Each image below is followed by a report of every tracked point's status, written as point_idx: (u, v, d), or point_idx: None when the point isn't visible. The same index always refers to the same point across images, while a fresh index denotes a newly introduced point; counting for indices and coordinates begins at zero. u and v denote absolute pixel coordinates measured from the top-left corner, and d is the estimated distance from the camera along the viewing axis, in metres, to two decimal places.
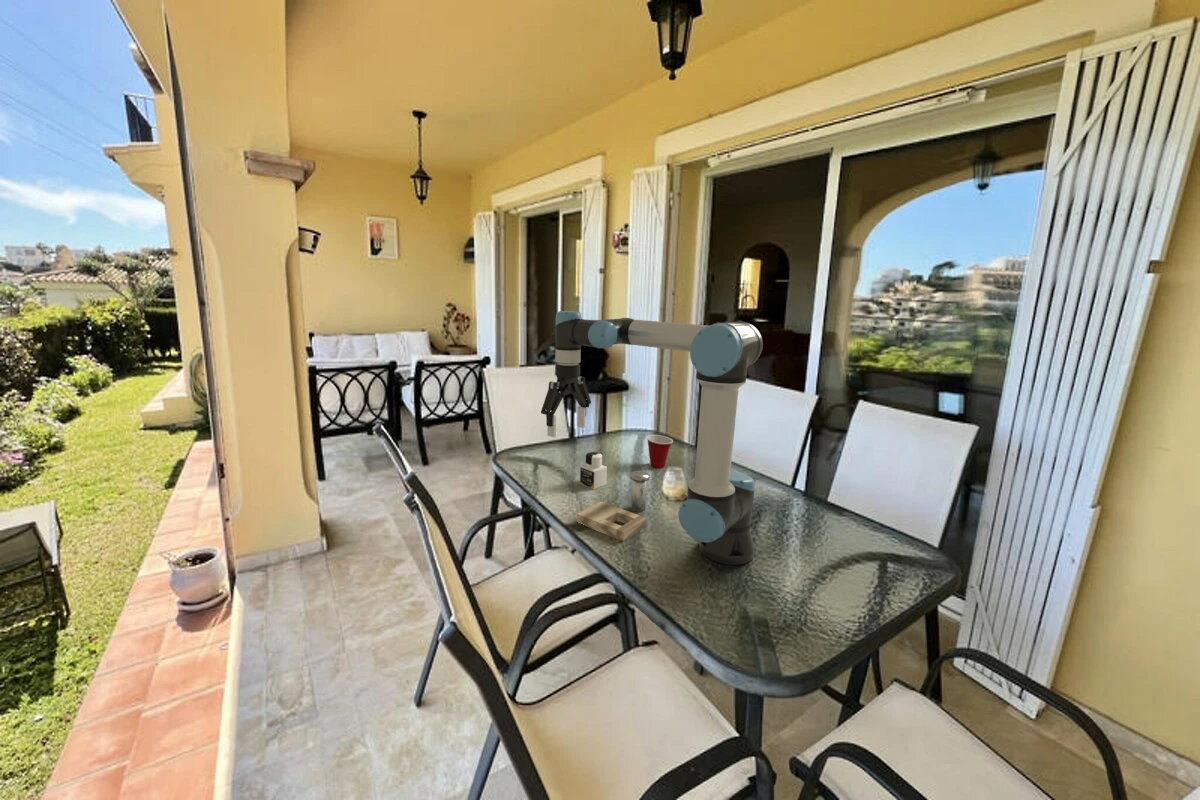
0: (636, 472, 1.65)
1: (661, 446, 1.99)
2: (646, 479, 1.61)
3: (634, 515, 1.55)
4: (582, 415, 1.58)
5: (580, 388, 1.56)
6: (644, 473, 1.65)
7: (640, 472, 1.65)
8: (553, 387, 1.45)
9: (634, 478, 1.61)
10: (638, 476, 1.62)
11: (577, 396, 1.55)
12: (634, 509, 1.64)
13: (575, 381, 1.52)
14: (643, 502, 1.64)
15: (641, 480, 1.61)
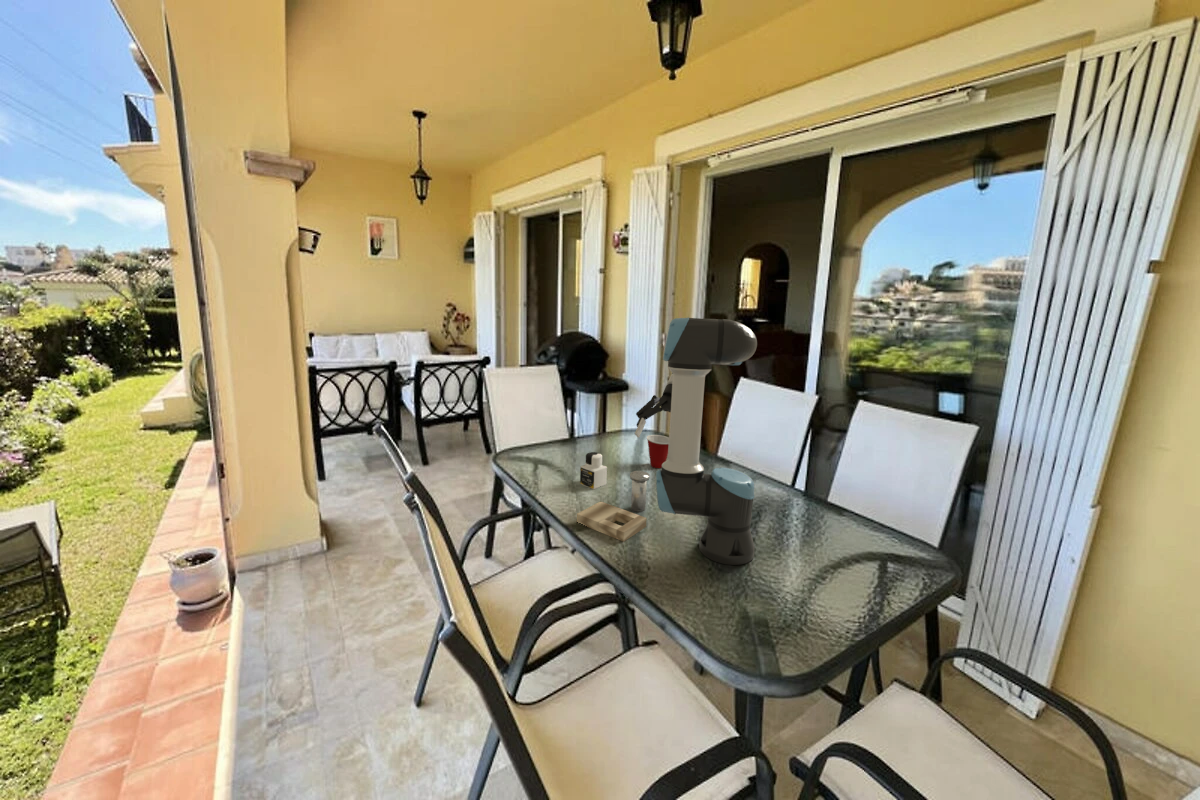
0: (636, 472, 1.65)
1: (661, 446, 1.99)
2: (646, 479, 1.61)
3: (634, 515, 1.55)
4: None
5: None
6: (644, 473, 1.65)
7: (640, 472, 1.65)
8: None
9: (634, 478, 1.61)
10: (638, 476, 1.62)
11: None
12: (634, 509, 1.64)
13: None
14: (643, 502, 1.64)
15: (641, 480, 1.61)
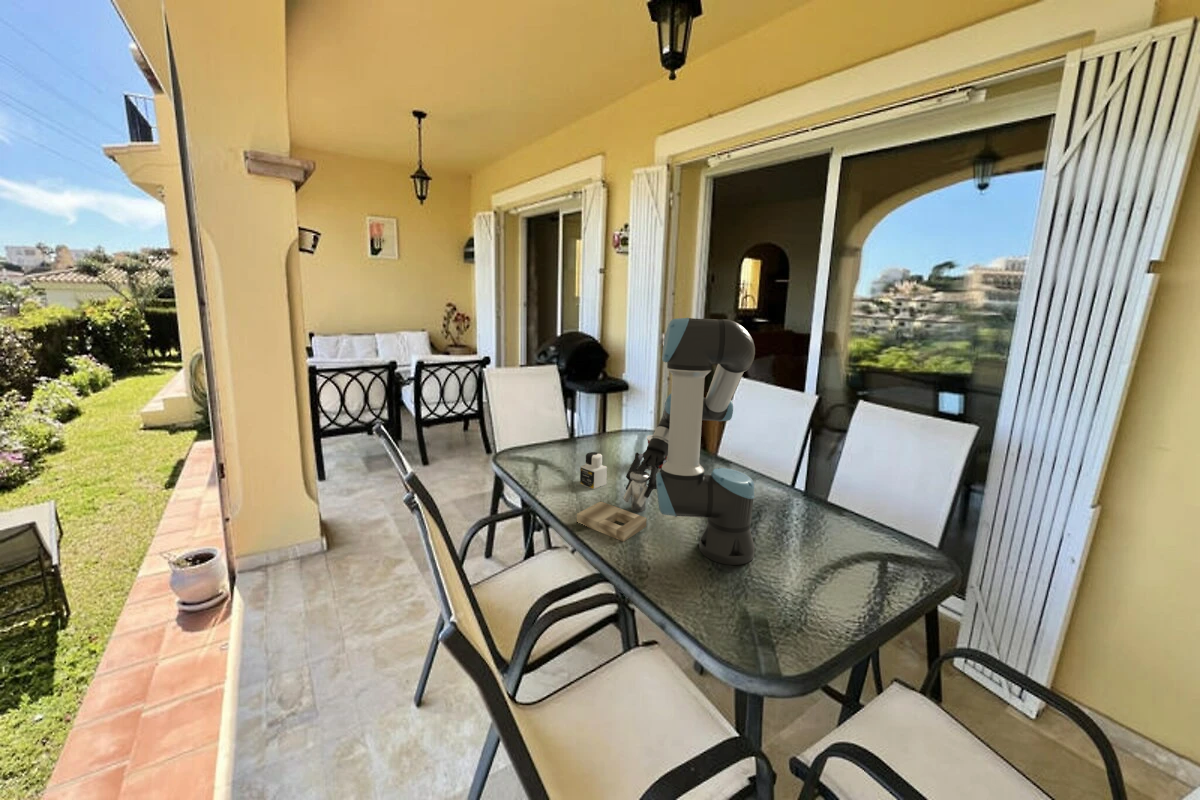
0: (636, 472, 1.65)
1: None
2: (646, 479, 1.61)
3: (634, 515, 1.55)
4: None
5: None
6: (644, 473, 1.65)
7: (640, 472, 1.65)
8: None
9: (634, 478, 1.61)
10: (638, 476, 1.62)
11: None
12: (634, 509, 1.64)
13: (660, 456, 1.67)
14: None
15: (641, 480, 1.61)
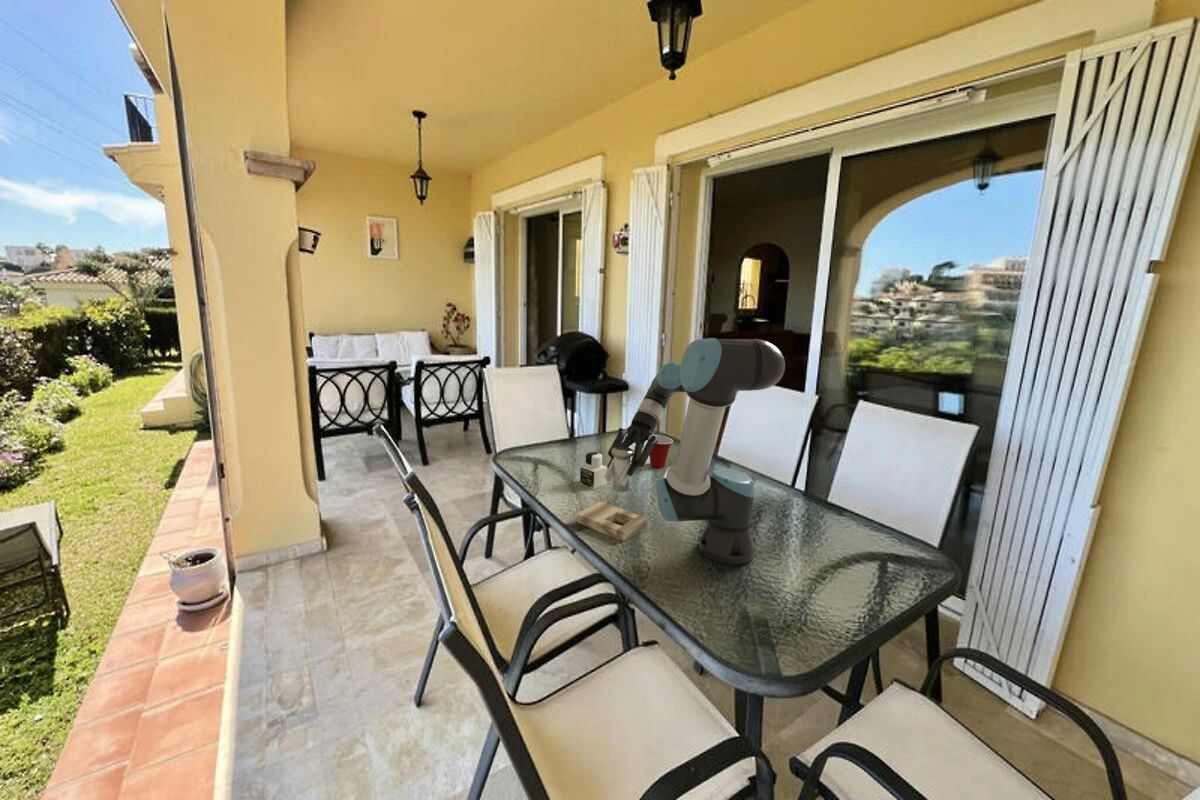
0: (619, 448, 1.49)
1: (661, 446, 1.99)
2: (629, 455, 1.45)
3: (634, 515, 1.55)
4: None
5: None
6: (627, 449, 1.49)
7: (623, 448, 1.49)
8: None
9: (616, 454, 1.45)
10: (620, 452, 1.46)
11: None
12: (616, 489, 1.48)
13: (645, 431, 1.51)
14: None
15: (624, 456, 1.45)
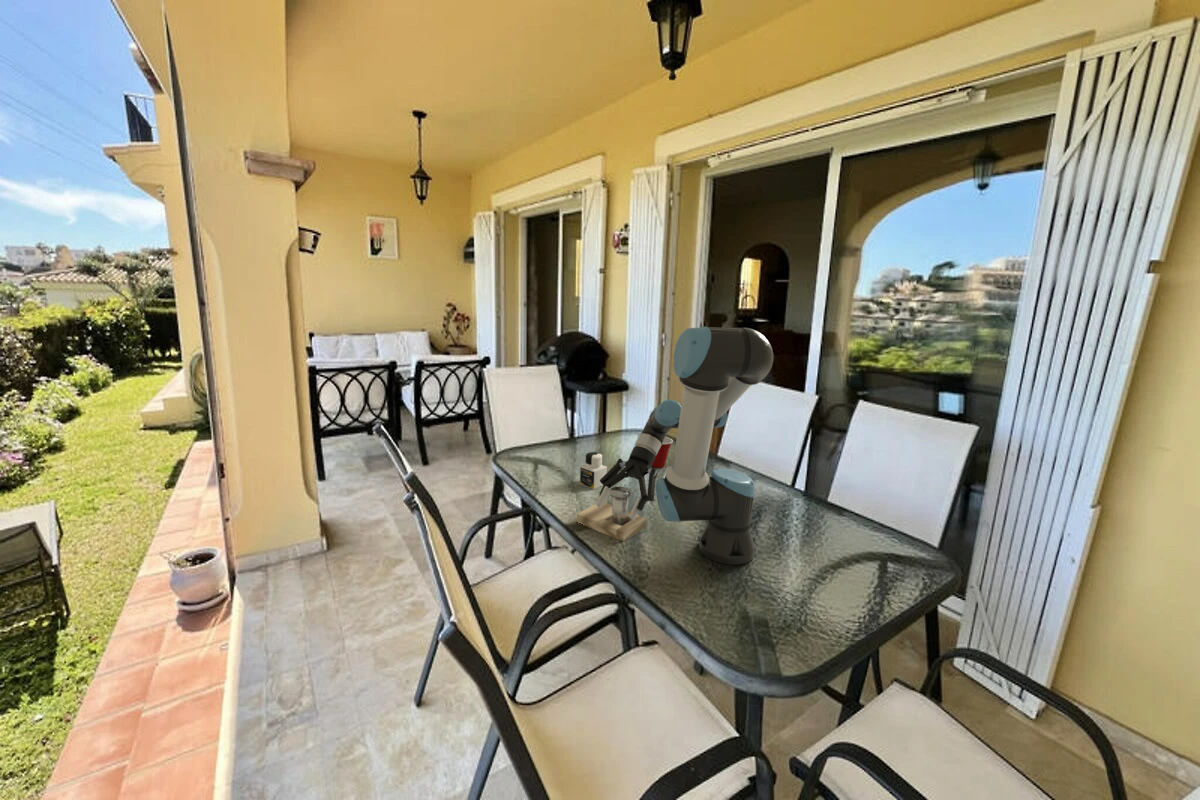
0: (617, 488, 1.52)
1: (661, 446, 1.99)
2: (627, 496, 1.48)
3: None
4: None
5: None
6: (625, 489, 1.51)
7: (621, 488, 1.52)
8: None
9: (614, 495, 1.48)
10: (618, 493, 1.48)
11: None
12: None
13: (642, 466, 1.54)
14: (624, 521, 1.51)
15: (622, 497, 1.47)
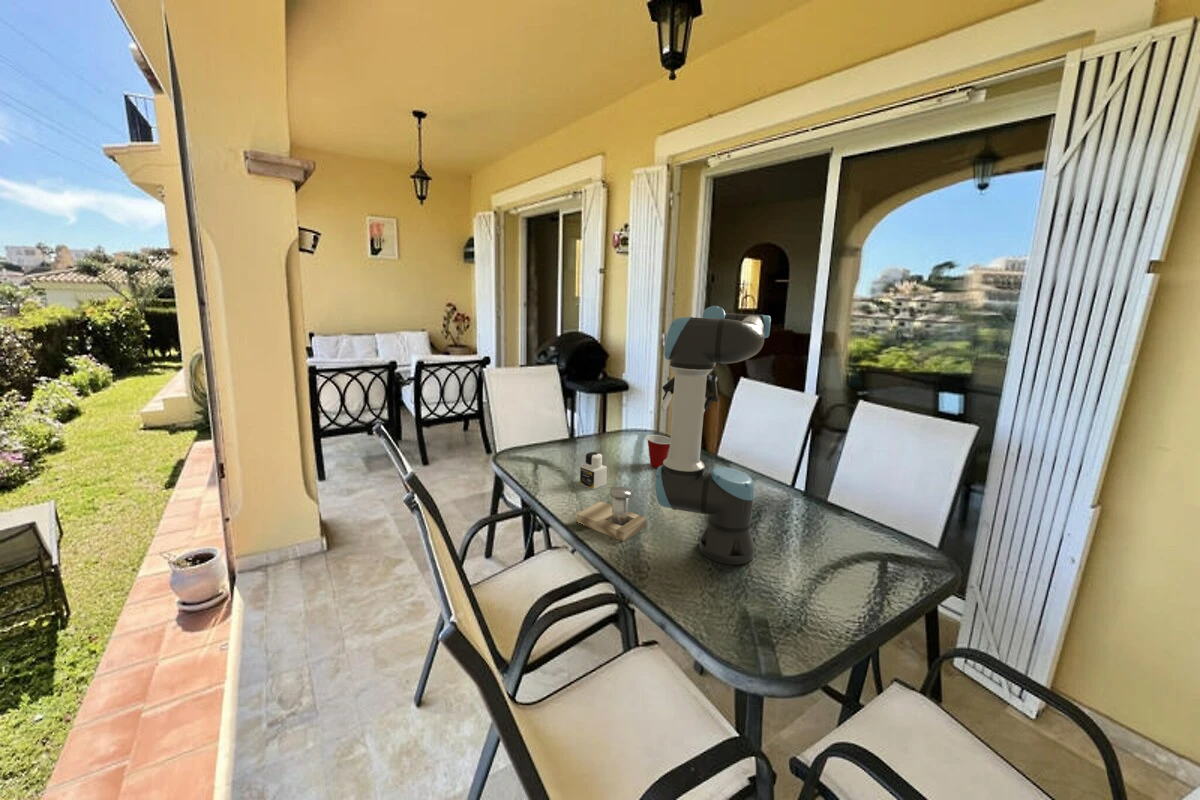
0: (617, 488, 1.52)
1: (661, 446, 1.99)
2: (627, 496, 1.48)
3: (634, 515, 1.55)
4: None
5: None
6: (625, 489, 1.51)
7: (621, 488, 1.52)
8: None
9: (614, 495, 1.48)
10: (618, 493, 1.48)
11: None
12: None
13: None
14: (624, 521, 1.51)
15: (622, 497, 1.47)
